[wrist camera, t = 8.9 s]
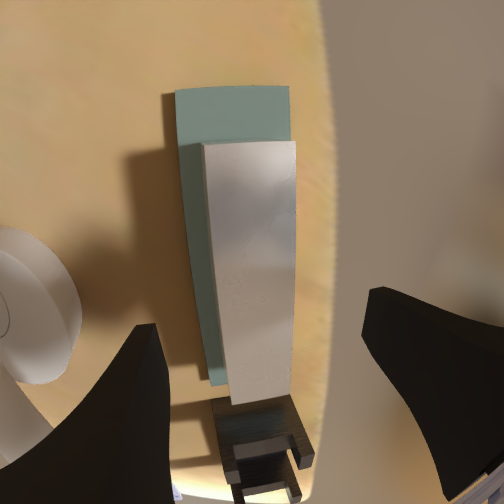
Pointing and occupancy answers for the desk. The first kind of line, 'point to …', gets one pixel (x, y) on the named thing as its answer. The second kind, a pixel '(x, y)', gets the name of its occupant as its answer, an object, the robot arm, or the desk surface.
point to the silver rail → (252, 260)
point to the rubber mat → (189, 138)
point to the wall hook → (31, 333)
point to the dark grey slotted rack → (261, 445)
